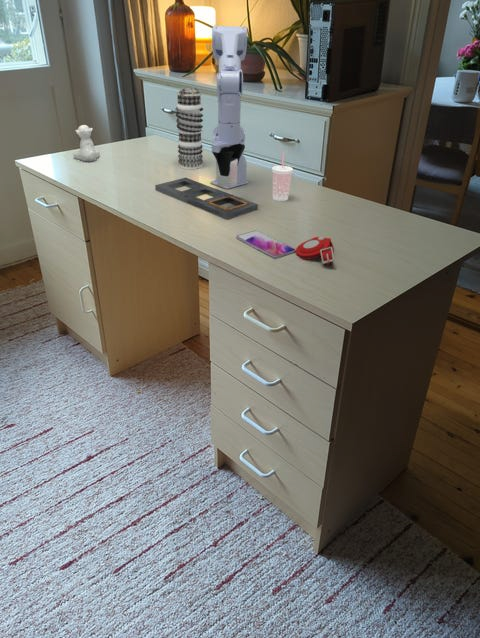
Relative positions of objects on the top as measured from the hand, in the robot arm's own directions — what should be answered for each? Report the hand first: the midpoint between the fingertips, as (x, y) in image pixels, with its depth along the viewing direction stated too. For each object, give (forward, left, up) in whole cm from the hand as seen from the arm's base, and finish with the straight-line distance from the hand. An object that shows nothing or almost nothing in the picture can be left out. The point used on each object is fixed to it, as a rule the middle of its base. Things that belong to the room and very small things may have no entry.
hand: (228, 173), depth 142 cm
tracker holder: (+6, +37, -10) cm, 39 cm away
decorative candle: (-19, -39, -10) cm, 45 cm away
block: (0, 0, -3) cm, 3 cm away
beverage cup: (-18, +4, -10) cm, 21 cm away
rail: (0, -10, -10) cm, 14 cm away
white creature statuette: (+4, -68, -10) cm, 69 cm away
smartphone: (+10, +24, -10) cm, 28 cm away
